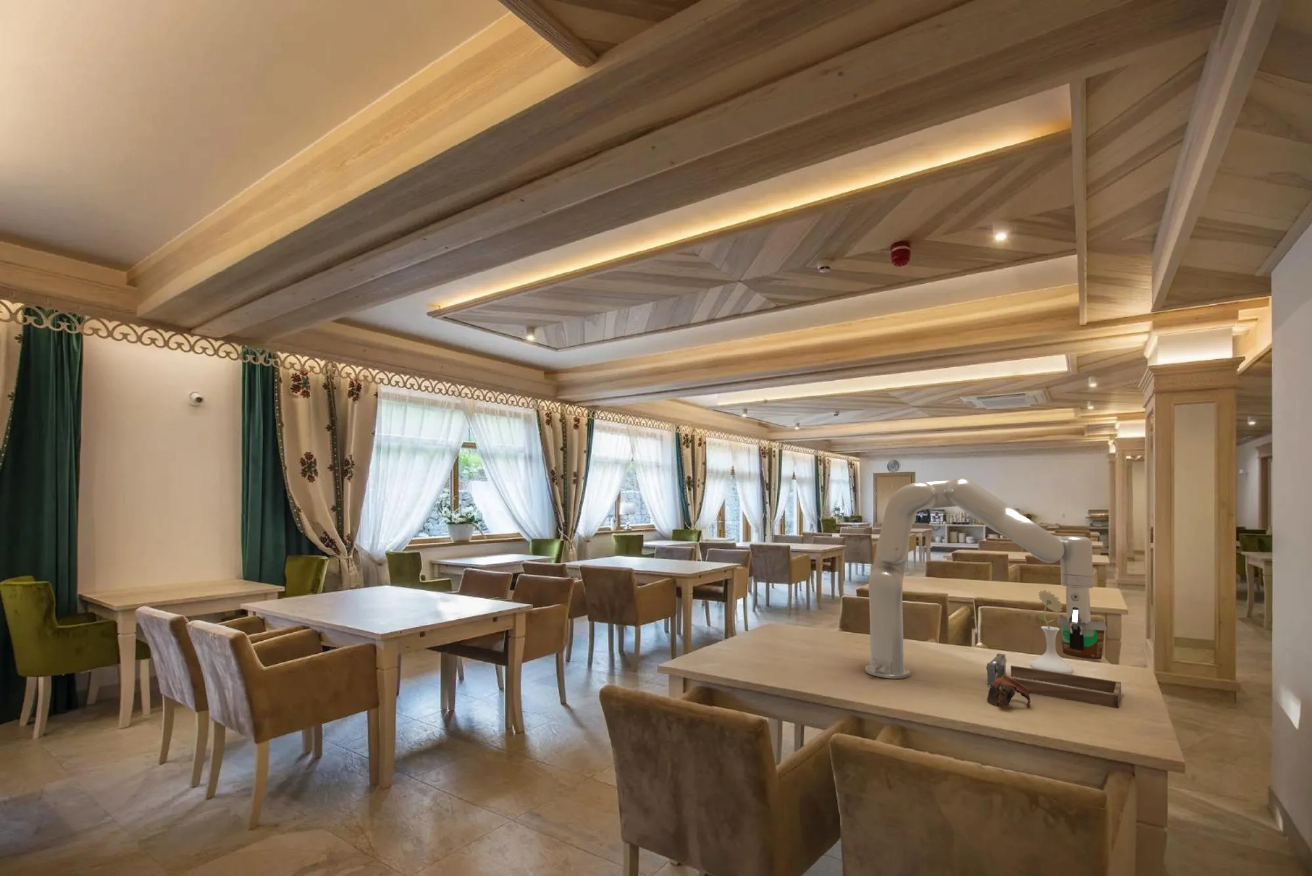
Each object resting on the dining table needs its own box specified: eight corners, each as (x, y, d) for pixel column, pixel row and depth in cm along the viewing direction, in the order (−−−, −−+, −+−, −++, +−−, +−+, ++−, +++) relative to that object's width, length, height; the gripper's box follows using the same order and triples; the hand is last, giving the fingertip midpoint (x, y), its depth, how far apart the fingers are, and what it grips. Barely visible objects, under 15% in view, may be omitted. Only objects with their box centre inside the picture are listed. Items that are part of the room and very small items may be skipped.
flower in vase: (1080, 680, 192) (1077, 594, 194) (1038, 677, 195) (1035, 592, 197) (1062, 668, 205) (1059, 588, 207) (1023, 666, 207) (1020, 586, 209)
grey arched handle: (997, 687, 185) (996, 665, 185) (985, 685, 186) (985, 663, 187) (1009, 673, 199) (1008, 653, 200) (998, 671, 201) (997, 651, 202)
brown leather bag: (985, 698, 176) (1000, 671, 177) (1021, 721, 171) (1036, 693, 171) (981, 697, 167) (997, 669, 167) (1019, 722, 161) (1036, 693, 161)
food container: (1047, 651, 183) (1047, 615, 184) (1060, 650, 186) (1060, 614, 187) (1094, 662, 172) (1094, 623, 173) (1107, 660, 175) (1107, 622, 176)
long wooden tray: (1118, 707, 168) (1117, 695, 168) (1001, 687, 184) (1000, 676, 184) (1121, 693, 180) (1120, 682, 180) (1011, 675, 197) (1011, 665, 197)
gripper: (1090, 585, 173) (1091, 655, 171) (1095, 579, 186) (1096, 644, 185) (1057, 582, 177) (1058, 650, 176) (1064, 576, 191) (1065, 639, 189)
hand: (1078, 646), depth 180 cm, fingers closed on food container, 6 cm apart
